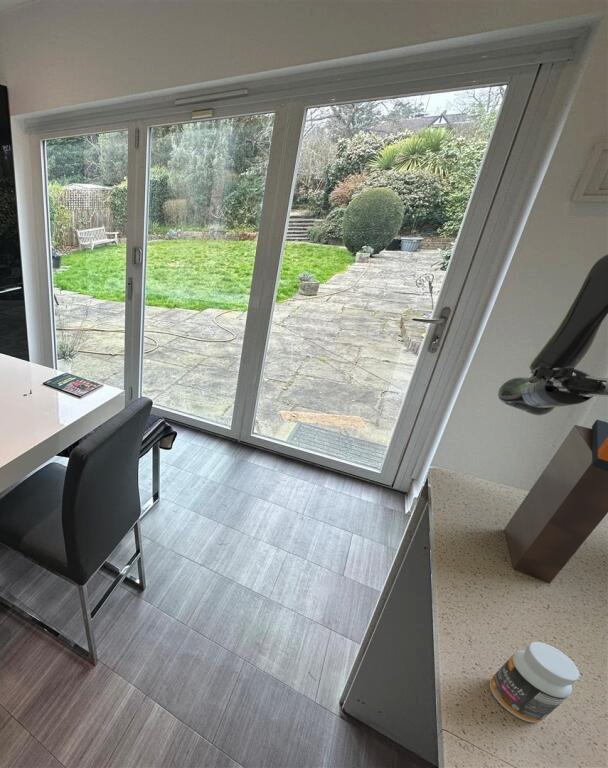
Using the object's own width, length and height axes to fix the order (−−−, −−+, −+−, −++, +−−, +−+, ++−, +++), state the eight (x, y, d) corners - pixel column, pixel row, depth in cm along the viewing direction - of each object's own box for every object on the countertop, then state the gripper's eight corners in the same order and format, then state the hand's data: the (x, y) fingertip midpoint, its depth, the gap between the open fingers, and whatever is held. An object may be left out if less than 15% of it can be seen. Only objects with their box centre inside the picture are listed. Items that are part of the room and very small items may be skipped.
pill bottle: (478, 674, 60) (511, 633, 55) (521, 681, 59) (559, 640, 54) (507, 720, 55) (547, 680, 50) (554, 728, 54) (599, 688, 49)
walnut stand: (536, 540, 82) (615, 434, 70) (550, 583, 74) (643, 470, 62) (503, 529, 85) (574, 424, 73) (513, 569, 76) (595, 457, 64)
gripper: (521, 363, 92) (556, 349, 78) (613, 381, 84) (670, 369, 70) (509, 395, 92) (542, 386, 78) (600, 415, 85) (655, 410, 71)
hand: (603, 378), depth 74 cm, fingers open, 8 cm apart
